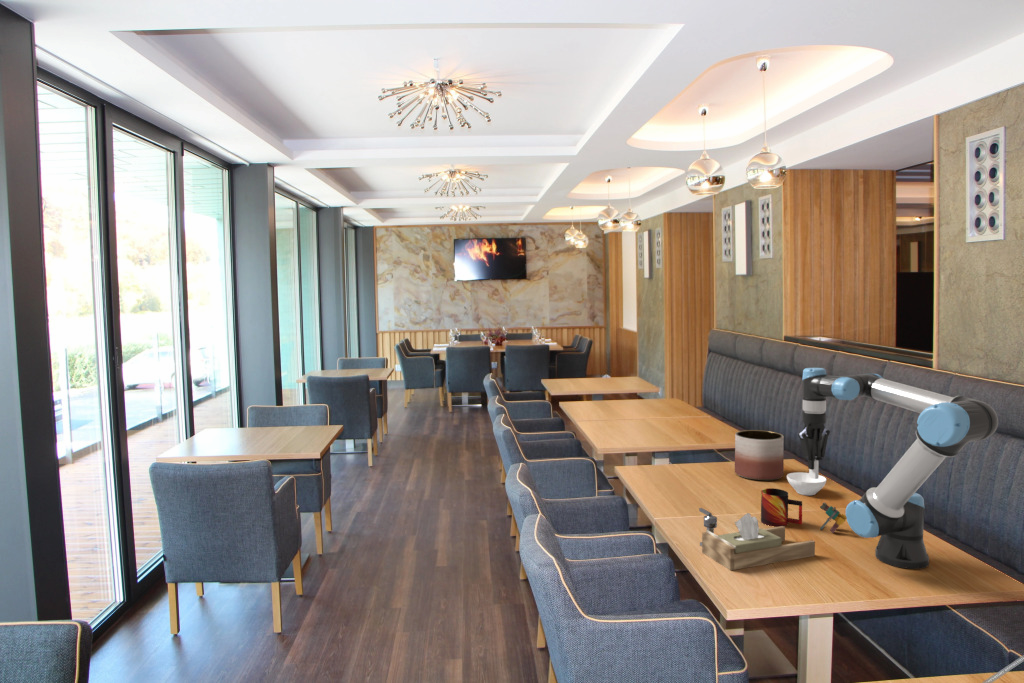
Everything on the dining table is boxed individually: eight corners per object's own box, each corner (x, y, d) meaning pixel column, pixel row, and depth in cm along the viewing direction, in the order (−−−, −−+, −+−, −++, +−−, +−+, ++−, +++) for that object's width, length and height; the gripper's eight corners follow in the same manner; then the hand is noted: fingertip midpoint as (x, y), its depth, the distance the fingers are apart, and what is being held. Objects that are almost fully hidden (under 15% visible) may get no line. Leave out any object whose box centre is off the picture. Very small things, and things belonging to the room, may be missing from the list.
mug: (802, 527, 244) (803, 496, 243) (764, 526, 246) (764, 495, 245) (795, 518, 254) (795, 488, 253) (758, 517, 256) (758, 488, 255)
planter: (770, 468, 325) (770, 429, 324) (792, 481, 303) (792, 438, 302) (727, 470, 324) (727, 430, 323) (746, 482, 302) (746, 440, 301)
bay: (814, 555, 218) (815, 533, 218) (730, 570, 208) (730, 547, 208) (782, 539, 233) (782, 518, 232) (702, 552, 223) (702, 530, 222)
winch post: (720, 548, 226) (720, 514, 225) (708, 550, 224) (708, 516, 223) (706, 539, 234) (706, 507, 233) (694, 541, 232) (694, 508, 232)
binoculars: (828, 540, 237) (845, 520, 233) (806, 522, 241) (822, 503, 237) (834, 532, 244) (850, 513, 241) (812, 515, 249) (828, 496, 245)
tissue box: (762, 550, 224) (762, 505, 223) (782, 561, 215) (783, 514, 214) (716, 558, 219) (716, 512, 217) (734, 570, 209) (735, 522, 208)
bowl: (831, 499, 276) (831, 483, 276) (791, 498, 279) (792, 482, 278) (819, 488, 292) (820, 472, 292) (782, 487, 295) (782, 471, 294)
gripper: (819, 408, 234) (819, 473, 235) (791, 411, 229) (791, 477, 231) (836, 411, 227) (836, 478, 228) (808, 415, 222) (808, 482, 224)
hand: (813, 477), depth 230 cm, fingers closed
